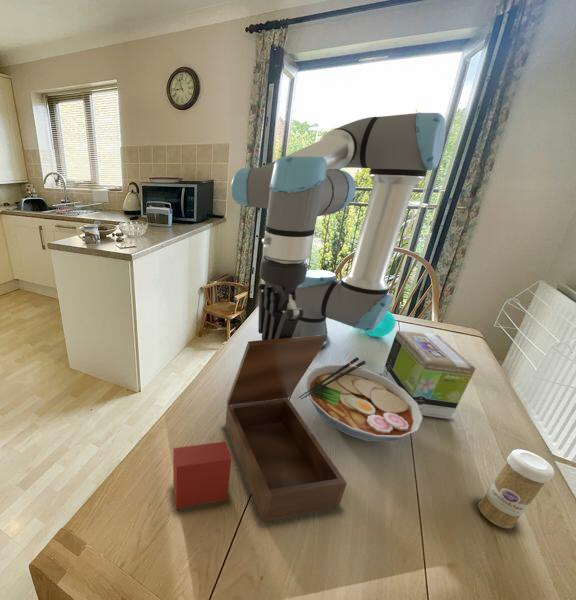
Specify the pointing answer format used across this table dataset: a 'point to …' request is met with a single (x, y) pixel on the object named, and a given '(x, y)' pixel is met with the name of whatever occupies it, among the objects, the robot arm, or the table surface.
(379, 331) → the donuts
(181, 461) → the book
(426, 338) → the tea box
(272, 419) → the chest
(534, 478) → the sprinkles bottle
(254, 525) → the table surface
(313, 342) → the lid
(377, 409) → the ramen bowl
